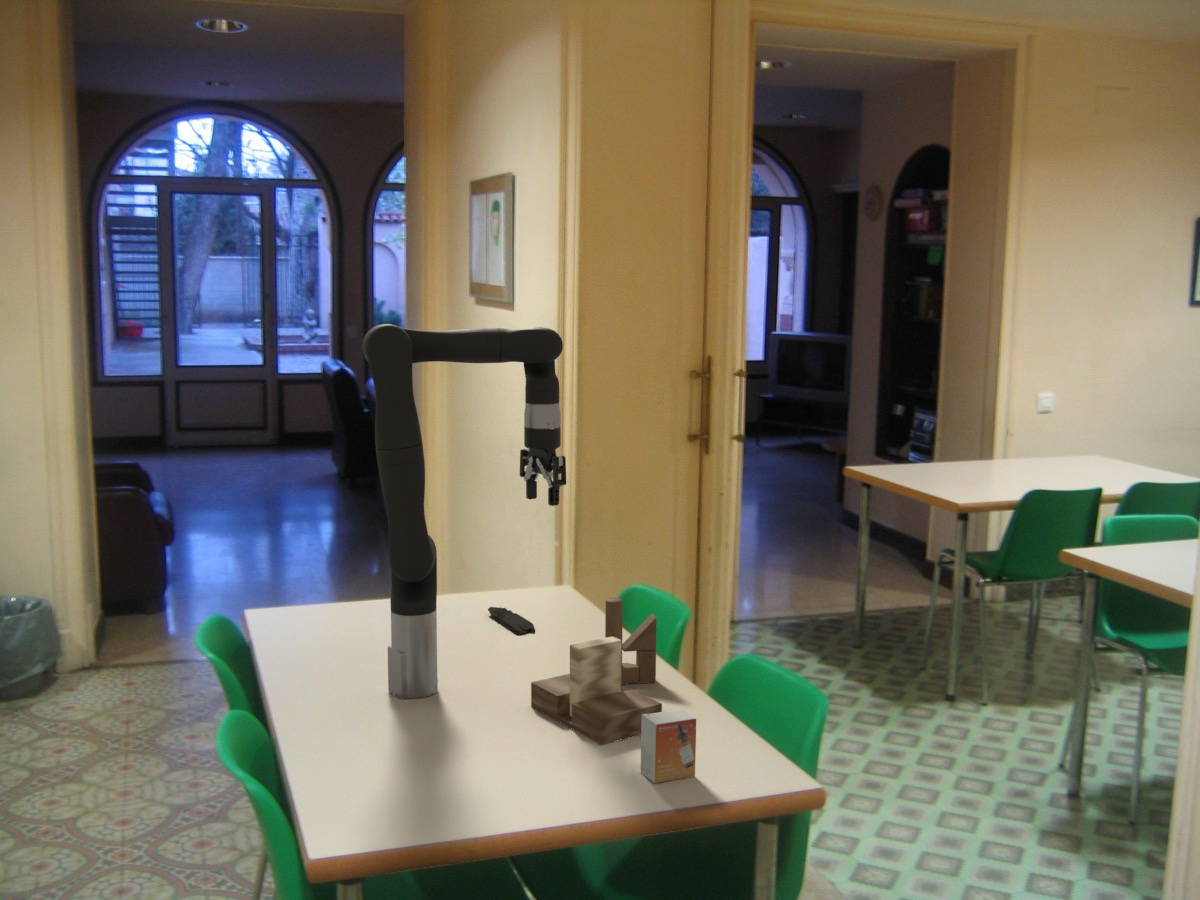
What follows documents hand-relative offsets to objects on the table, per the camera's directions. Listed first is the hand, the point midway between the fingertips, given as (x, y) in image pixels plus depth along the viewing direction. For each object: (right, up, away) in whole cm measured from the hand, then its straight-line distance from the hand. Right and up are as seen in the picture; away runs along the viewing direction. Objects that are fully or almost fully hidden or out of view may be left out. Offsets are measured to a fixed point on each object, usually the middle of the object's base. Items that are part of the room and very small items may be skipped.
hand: (542, 502), depth 247 cm
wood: (-10, -33, +46) cm, 58 cm away
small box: (+24, -45, -43) cm, 67 cm away
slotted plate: (+11, -41, -17) cm, 46 cm away
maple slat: (+11, -40, -17) cm, 45 cm away
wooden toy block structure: (+18, -38, +4) cm, 43 cm away
